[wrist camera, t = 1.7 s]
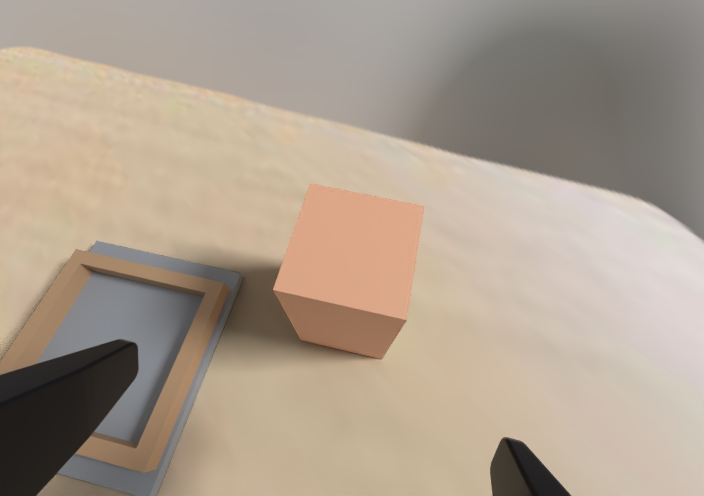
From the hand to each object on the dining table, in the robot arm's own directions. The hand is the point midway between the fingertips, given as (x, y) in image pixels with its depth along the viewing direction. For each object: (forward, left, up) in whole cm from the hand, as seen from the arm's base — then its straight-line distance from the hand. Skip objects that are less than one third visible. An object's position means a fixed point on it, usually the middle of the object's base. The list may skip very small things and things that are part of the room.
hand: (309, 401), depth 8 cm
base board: (-5, +12, -12) cm, 17 cm away
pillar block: (+5, +3, -12) cm, 13 cm away
